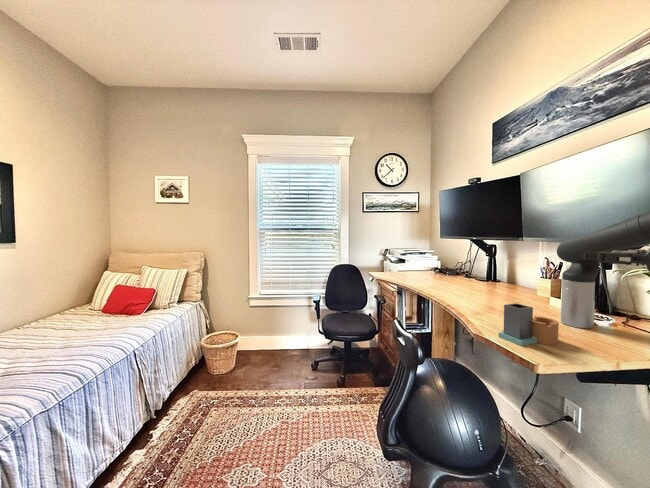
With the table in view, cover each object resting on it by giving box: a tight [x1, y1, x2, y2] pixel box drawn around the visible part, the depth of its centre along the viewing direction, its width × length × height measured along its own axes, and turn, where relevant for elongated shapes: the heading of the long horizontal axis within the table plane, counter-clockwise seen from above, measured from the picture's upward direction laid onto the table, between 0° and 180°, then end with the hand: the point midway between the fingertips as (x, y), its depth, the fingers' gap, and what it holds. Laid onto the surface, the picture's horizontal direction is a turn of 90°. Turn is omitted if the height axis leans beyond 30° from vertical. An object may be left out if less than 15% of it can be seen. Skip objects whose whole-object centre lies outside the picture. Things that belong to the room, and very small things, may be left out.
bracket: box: [532, 315, 560, 346], centre depth 96 cm, size 18×8×7 cm, turn 175°
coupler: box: [503, 302, 534, 340], centre depth 91 cm, size 6×6×10 cm
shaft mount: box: [498, 331, 538, 347], centre depth 91 cm, size 7×8×7 cm
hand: (593, 254), depth 75 cm, fingers open, 8 cm apart
